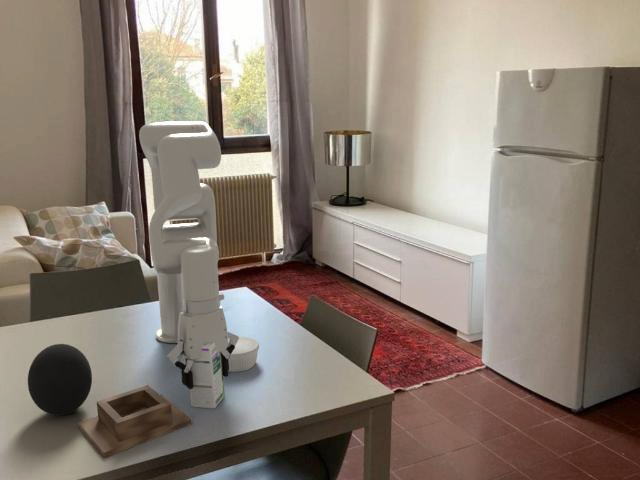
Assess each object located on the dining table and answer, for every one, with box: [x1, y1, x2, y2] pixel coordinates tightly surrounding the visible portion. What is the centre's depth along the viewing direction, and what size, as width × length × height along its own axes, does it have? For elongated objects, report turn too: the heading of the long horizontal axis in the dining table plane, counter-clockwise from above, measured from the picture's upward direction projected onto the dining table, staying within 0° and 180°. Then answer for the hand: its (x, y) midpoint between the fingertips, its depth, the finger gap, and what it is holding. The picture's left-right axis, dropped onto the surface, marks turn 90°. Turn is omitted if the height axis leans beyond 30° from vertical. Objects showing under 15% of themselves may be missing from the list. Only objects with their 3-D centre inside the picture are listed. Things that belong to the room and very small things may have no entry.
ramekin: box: [228, 336, 260, 373], centre depth 148 cm, size 11×11×5 cm
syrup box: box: [187, 343, 226, 410], centre depth 129 cm, size 6×6×14 cm
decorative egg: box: [27, 343, 93, 416], centre depth 125 cm, size 12×12×15 cm
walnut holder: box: [78, 384, 193, 458], centre depth 121 cm, size 18×14×5 cm
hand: (206, 380), depth 129 cm, fingers closed on syrup box, 8 cm apart
